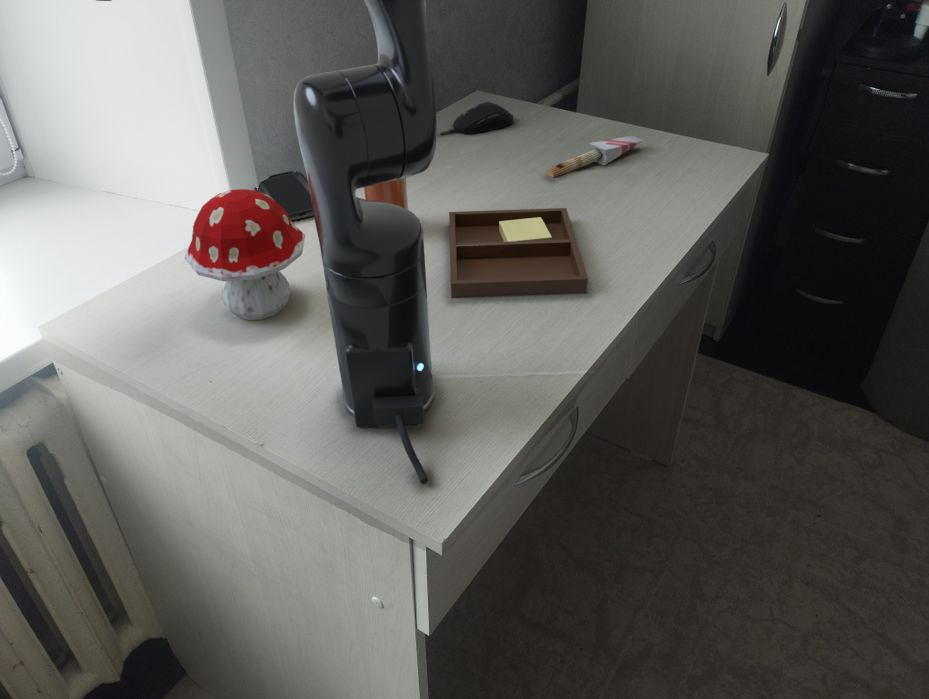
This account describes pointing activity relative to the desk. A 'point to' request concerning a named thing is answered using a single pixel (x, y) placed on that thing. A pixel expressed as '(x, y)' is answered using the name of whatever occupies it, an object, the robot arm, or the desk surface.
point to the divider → (513, 249)
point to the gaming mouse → (481, 119)
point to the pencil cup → (389, 192)
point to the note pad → (524, 230)
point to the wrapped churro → (596, 154)
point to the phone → (289, 193)
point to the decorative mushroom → (246, 250)
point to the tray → (513, 271)
